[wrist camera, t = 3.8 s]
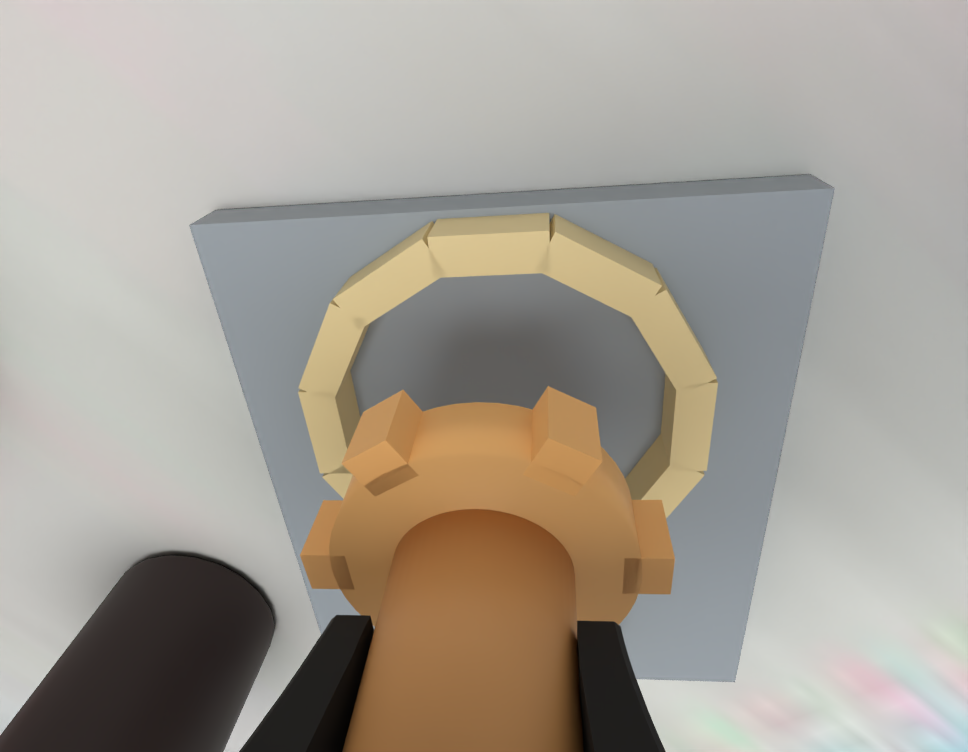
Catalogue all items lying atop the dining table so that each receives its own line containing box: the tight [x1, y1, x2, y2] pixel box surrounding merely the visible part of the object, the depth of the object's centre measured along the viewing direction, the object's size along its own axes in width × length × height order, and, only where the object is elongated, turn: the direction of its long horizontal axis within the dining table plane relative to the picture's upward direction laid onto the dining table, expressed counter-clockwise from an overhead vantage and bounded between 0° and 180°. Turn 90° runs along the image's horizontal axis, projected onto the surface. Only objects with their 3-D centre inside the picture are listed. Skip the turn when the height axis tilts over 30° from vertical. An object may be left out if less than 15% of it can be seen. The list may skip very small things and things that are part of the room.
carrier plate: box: [189, 174, 835, 682], centre depth 19 cm, size 16×19×4 cm
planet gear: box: [300, 386, 675, 752], centre depth 10 cm, size 7×7×6 cm
